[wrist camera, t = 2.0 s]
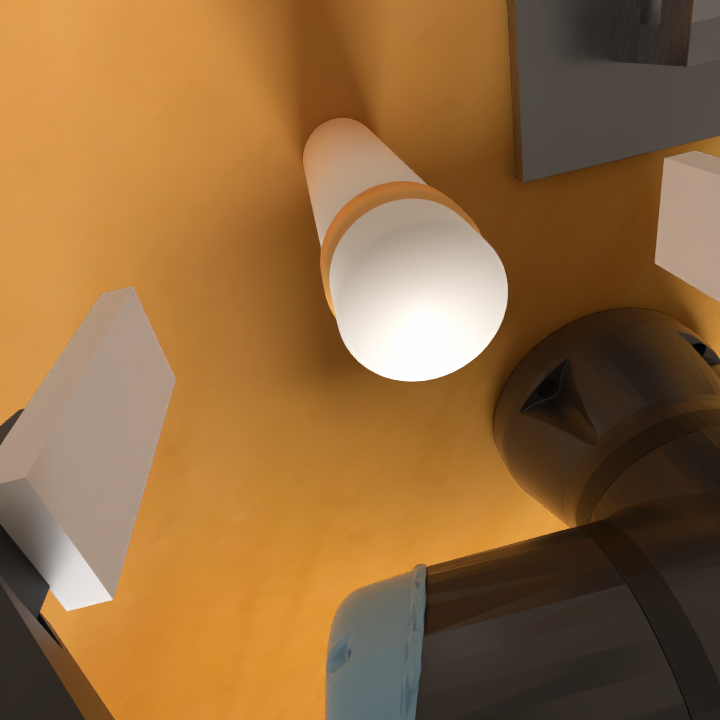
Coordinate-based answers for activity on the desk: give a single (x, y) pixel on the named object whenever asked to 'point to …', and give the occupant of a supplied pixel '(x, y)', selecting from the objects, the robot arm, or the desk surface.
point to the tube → (398, 259)
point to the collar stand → (610, 79)
